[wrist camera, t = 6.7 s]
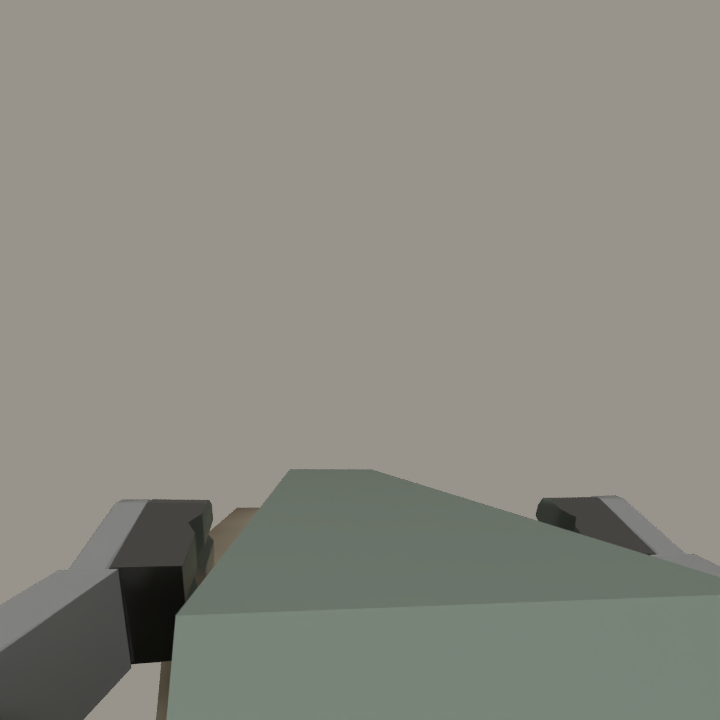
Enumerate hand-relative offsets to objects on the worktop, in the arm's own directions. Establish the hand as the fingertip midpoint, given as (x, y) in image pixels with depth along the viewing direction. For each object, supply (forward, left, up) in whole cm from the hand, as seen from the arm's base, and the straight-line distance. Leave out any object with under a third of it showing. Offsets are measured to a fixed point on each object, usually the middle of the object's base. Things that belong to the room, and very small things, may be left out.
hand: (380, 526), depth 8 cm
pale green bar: (0, -5, -1) cm, 5 cm away
